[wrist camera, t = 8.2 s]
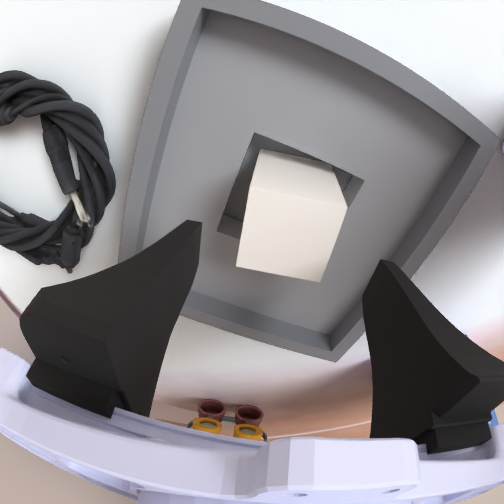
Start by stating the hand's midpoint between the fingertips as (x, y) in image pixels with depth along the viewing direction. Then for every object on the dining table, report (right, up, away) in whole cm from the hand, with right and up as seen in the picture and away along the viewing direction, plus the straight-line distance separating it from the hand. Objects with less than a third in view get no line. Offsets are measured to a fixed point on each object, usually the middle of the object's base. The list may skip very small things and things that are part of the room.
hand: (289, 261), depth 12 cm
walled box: (+1, +4, +6) cm, 7 cm away
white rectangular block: (+1, +4, +6) cm, 7 cm away
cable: (-18, +8, +6) cm, 21 cm away
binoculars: (-4, -17, +21) cm, 27 cm away
